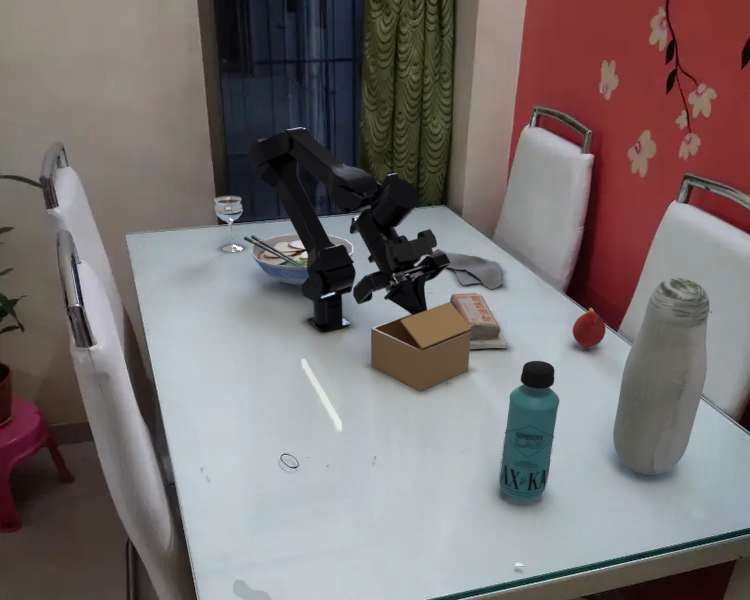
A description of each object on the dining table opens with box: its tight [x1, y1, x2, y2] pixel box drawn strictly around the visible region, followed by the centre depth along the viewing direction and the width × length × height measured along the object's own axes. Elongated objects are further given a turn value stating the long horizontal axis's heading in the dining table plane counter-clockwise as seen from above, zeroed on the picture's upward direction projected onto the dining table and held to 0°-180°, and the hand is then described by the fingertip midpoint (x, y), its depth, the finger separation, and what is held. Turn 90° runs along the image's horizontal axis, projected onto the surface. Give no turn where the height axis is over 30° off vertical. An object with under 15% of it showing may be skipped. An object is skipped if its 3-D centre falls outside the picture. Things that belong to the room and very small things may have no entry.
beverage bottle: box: [498, 360, 560, 501], centre depth 103 cm, size 6×7×20 cm
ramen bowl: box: [243, 232, 354, 287], centre depth 174 cm, size 25×23×8 cm
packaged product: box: [449, 292, 509, 350], centre depth 152 cm, size 18×5×10 cm
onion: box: [572, 307, 607, 350], centre depth 145 cm, size 6×6×8 cm
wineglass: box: [213, 195, 244, 253], centre depth 192 cm, size 7×7×12 cm
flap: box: [401, 301, 471, 349], centre depth 133 cm, size 6×12×1 cm, turn 132°
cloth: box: [433, 248, 503, 290], centre depth 182 cm, size 26×14×2 cm, turn 20°
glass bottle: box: [612, 277, 710, 476], centre depth 106 cm, size 10×10×28 cm
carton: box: [370, 313, 471, 392], centre depth 138 cm, size 13×12×7 cm
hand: (425, 320), depth 134 cm, fingers closed, pressing on flap
